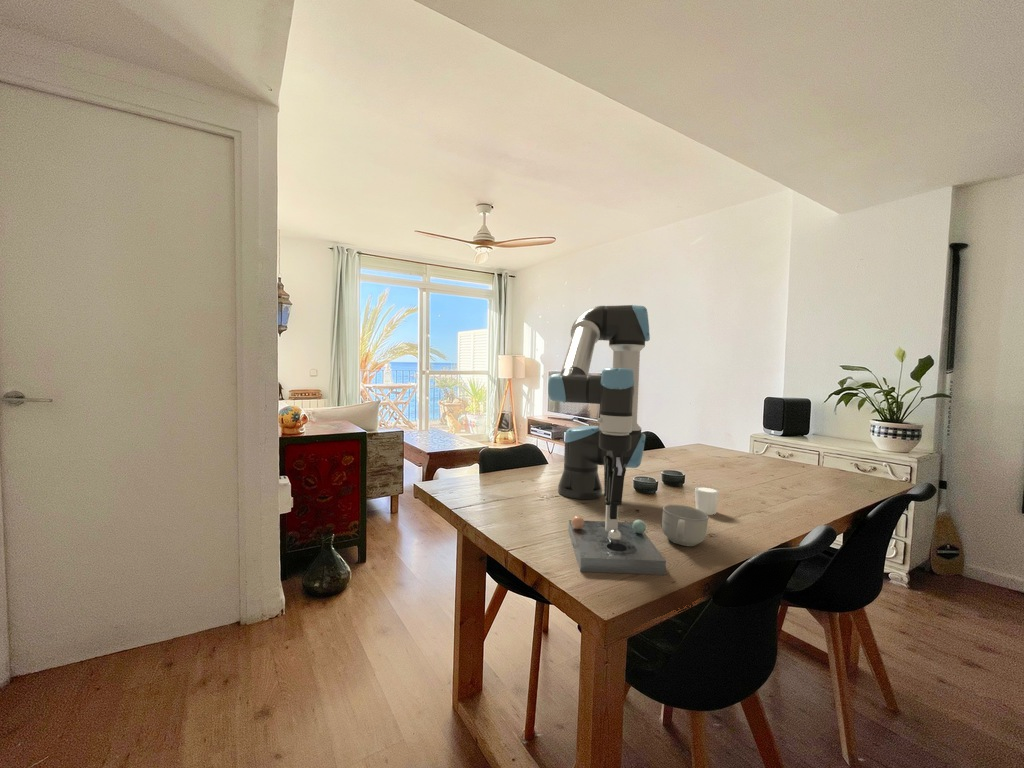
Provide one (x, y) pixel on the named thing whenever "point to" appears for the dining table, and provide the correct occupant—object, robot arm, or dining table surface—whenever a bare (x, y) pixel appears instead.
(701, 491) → the shot glass
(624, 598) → the dining table surface
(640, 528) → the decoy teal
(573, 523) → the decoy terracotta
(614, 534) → the steel ball
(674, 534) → the teacup
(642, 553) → the plate
